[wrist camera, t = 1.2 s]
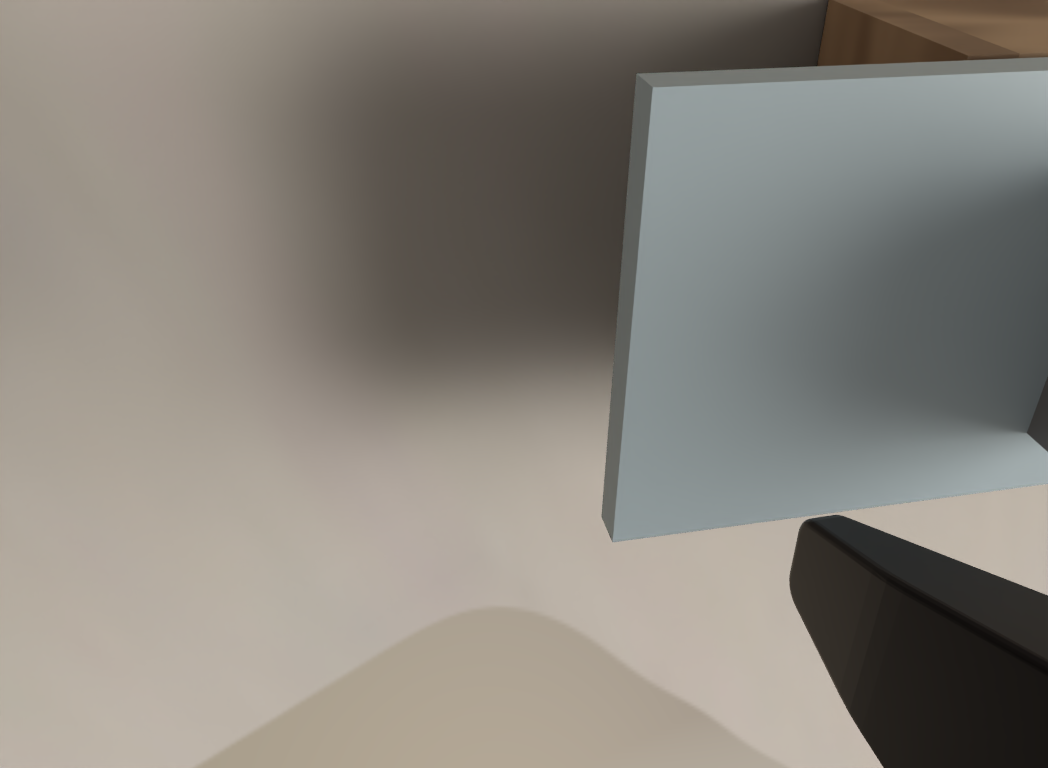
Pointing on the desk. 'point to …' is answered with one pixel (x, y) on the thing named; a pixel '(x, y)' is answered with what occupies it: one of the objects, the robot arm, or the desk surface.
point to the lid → (829, 292)
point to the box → (932, 31)
